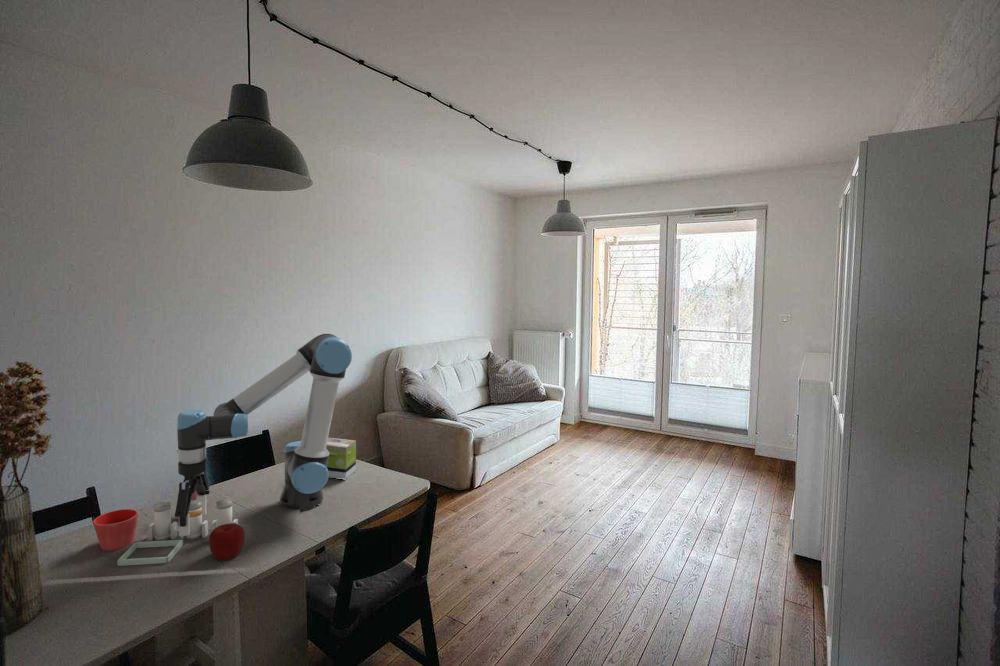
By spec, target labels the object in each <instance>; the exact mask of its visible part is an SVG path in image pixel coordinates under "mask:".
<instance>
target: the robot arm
mask: <svg viewBox="0 0 1000 666" xmlns="http://www.w3.org/2000/svg"><path fill="white" fill-rule="evenodd" d="M352 354H353V353H352V349H351V347H350V346H349V344H348V343H347V342H346V341H345V340H344V339H342V338H340V337H338V336H336V335H334V334H332V333H322V334H319V335H317V336H315V337H314V338H312V339H310V340H309V341H308V342H306V343H305V344H304V345H303V346H301V347H299V348H298V349H297V350H296V353H295V355H293V356H292V357H290V358H289V359H287V360H286V361H285V362H283V363H282V364H280V365H279V366H277V367H276V368H275V369H273V370H272V371H270V372H269V373H267V374H266V375H264V376H263V377H262V378H260V379H259V380H257V381H256V382H254V383H253V384H251V385H250V386H249V387H247V388H246V389H245V390H243V391H241V392H240V393H238V394H237V395H236V396H234V397H232V399H230V400H229V401H227V402H222V403H220V404H218V405H217V407H215V409H214V412H213V415H209V416H208V415H206V412H205V410H202V409H188V410H184V411H182V412H179V414H178V415H177V425H176V426H177V427H176V428H177V429H176V431H177V434H176V435H177V450H176V453H177V454H178V455H177V458H178V459H177V460H178V461H179V462H178V463H177V467H178V468H177V471H178V474H179V475H180V476H183V477H184V478H183V480H182V481H183V482H181V481H180V482H179V484H178V495H177V500H176V508H175V512H174V517H175V518H178V531H179V536H189V535H190V520H189V514H188V511H189V507H190V503H191V499H192V495H193V494H194V493H195V490H196V492H197V494H198V495H197V496H196V500H201V501H202V516H206V515H207V495H210V487H209V482H208V479H207V475H206V471H207V459H206V458H207V443H206V441H214V440H223V439H224V440H225V439H237V438H242V437H243V438H244V437H246V436H247V435H248V433H249V420H248V415H249V414H251V413H252V412H253V411H255V410H257V409H258V408H260V407H261V406H262V405H264V404H265V403H266V402H268V401H269V400H270V399H272V398H273V397H274V396H276V395H277V394H279V393H280V392H282V391H283V390H284V389H286V388H287V387H288V386H290V385H291V384H293V383H295V382H296V381H298V380H299V379H300V378H301V377H303V376H304V375H306V374H307V373H310V375H311V376H312V384H311V387H310V388H311V389H310V394H309V399H308V404H307V410H306V414H305V418H304V425H303V431H302V433H301V434H302V435H301V439H300V440H296V441H292V442H289V443H287V444H286V445H285V446H284V452H283V454H284V486H283V488H282V491H281V493H280V494H281V495H280V498H279V506H281V507H283V508H286V509H290V510H298V509H299V511H300V510H301V511H306V510H305V509H307V510H310V509H309V508H311V509H313V508H312V507H314V506H316V505H318V504H320V503H321V502H322V500H323V501H324V494H323V493H324V492H323V490H322V489H323V488H324V487H325V485H327V483H328V480H329V478H328V476H329V474H328V473H329V472H328V469H327V464H328V459H329V451H328V450H327V449H326V445H327V440H328V437H329V434H330V430H331V424H332V420H333V414H334V410H335V405H336V404H335V403H336V400H337V394H338V389H339V384H340V382H341V381H342V380H344V378H345V376H346V371H347V369H348V368H349V366H350V365H351V363H352V357H353V355H352ZM322 503H323V502H322ZM322 503H321V504H322ZM321 504H320V505H321ZM318 506H319V505H318ZM316 507H317V506H316ZM314 508H315V507H314Z"/></svg>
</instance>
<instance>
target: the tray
mask: <svg viewBox="0 0 1000 666" xmlns="http://www.w3.org/2000/svg"><path fill="white" fill-rule="evenodd" d="M182 546H184V543H183V540H168V541H150V542H145V541H135V542H134V543H133V544H132V545H131V546H130V547H129V548H128V549H127V550H126V551H125V552H124V553H123V554H122V555H121V556H120V557H119V558H118V559H117V560H116V564H117V565H116V567H117V566H118V567H119V566H121V567H122V566H137V565H152V564H153V565H157V564H169V563H170V561H172V559H173V558H174V556H175V555H176V554H177V553H178V552H179V550H180V549H181V548H182ZM159 547H160V548H162V547H163V548H165V547H173V549H172V550H171V551H170V552H169V553H168V555H167V556H158V557H156V556H155V557H140V558H139V557H138V558H129V557H130V555H132V554H133V553H134V552H135V550H137V549H142V548H145V549H146V548H159Z"/></svg>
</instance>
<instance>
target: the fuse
mask: <svg viewBox="0 0 1000 666" xmlns="http://www.w3.org/2000/svg"><path fill="white" fill-rule="evenodd" d="M171 504H172V503H171V501H168V500H165V501H159V502H156V503H155V504H154V503H153V506H152V507H153V523H154V527H155V541H165V540H168V539H170V538H171V532H170V525H171V524H172V513H171V511H172V510H171V508H172V507H171V506H172V505H171Z"/></svg>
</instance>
